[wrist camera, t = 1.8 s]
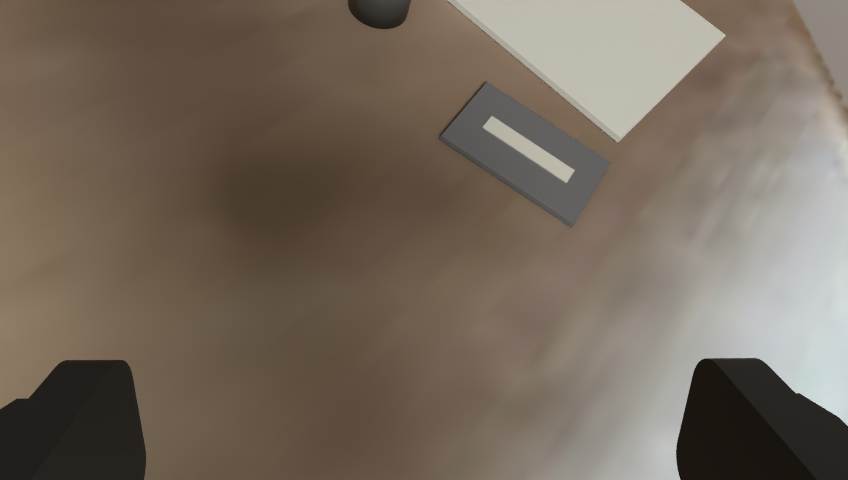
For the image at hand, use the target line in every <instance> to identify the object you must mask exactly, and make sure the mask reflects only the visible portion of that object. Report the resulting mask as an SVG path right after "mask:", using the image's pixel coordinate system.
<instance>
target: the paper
mask: <svg viewBox="0 0 848 480" xmlns="http://www.w3.org/2000/svg"><path fill="white" fill-rule="evenodd" d="M447 1H449V2H450V3H451V4H452V5H453V6H455V7H456V8H457V9H458V10H459V11H460V12H462V13H463V14H464V15H465V16H466V17H468V18H469V19H470V20H471V21H472V22H474V23H475V24H476V25H477V26H478V27H480V28H481V29H482V30H483V31H484V32H486V33H487V34H488V35H489V36H490V37H492V38H493V39H494V40H495V41H496V42H498V43H499V44H500V45H501V46H502V47H504V48H505V49H506V50H507V51H508V52H510V53H511V54H512V55H513V56H514V57H516V58H517V59H518V60H519V61H520V62H522V63H523V64H524V65H525V66H526V67H528V68H529V69H530V70H531V71H532V72H534V73H535V74H536V75H537V76H538V77H539V78H541V79H542V80H543V81H544V82H545V83H547V84H548V85H549V86H550V87H551V88H553V89H554V90H555V91H556V92H557V93H559V94H560V95H561V96H562V97H563V98H565V99H566V100H567V101H568V102H569V103H571V104H572V105H573V106H574V107H575V108H577V109H578V110H579V111H580V112H581V113H583V114H584V115H585V116H586V117H587V118H589V119H590V120H591V121H592V122H593V123H595V124H596V125H597V126H598V127H599V128H601V129H602V130H603V131H604V132H605V133H607V134H608V135H609V136H610V137H611V138H613V139H614V140H615V141H616V142H617V143H618V142H619V141H620V140H621V139H622V138H623V137H624V136H625V135H626V134H627V133H628V132H629V131H630V130H631V129H632V128H633V127H634V126H635V125H636V124H637V123H638V122H639V121H640V120H641V119H642V118H643V117H644V116H645V115H646V114H647V113H648V112H649V111H651V110H652V109H653V108H654V107H655V106H656V105H657V104H658V103H659V102H660V101H661V100H662V99H663V98H664V97H665V96H666V95H667V94H668V93H669V92H670V91H671V90H672V89H673V88H674V87H675V86H676V85H677V84H678V83H679V82H680V81H681V80H682V79H683V78H684V77H685V76H686V75H687V74H688V73H689V72H690V71H691V70H692V69H693V68H694V67H695V66H696V65H697V64H698V63H699V62H700V61H701V60H702V59H703V58H704V57H705V56H706V55H707V54H708V53H709V52H710V51H711V50H712V49H713V48H714V47H715V46H716V45H717V44H718V43H719V42H720V41H721V40H722V39H723V38H724V37H725V36H726V35H725V34H723V33H722V32H721V31H719V30H718V29H717V28H716V27H714V26H713V25H712V24H710V23H709V22H708V21H706V20H705V19H704V18H702V17H701V16H700V15H699V14H697V13H696V12H695V11H693V10H692V9H691V8H689V7H688V6H687V5H686V4H684V3H683V2H682V1H680V0H447Z"/></svg>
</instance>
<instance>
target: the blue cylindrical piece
mask: <svg viewBox="0 0 848 480" xmlns="http://www.w3.org/2000/svg"><path fill="white" fill-rule="evenodd" d="M410 2H411V0H348V6H349V9H350V11H351V13H352V14H353V15H354V16H355V17H356V18H357V19H358V20H359V21H360V22H362V23H364V24H366V25H368V26H370V27H374V28H379V29H390V28H394V27H397V26H399V25H401V24H402V23H403V22H404V21H405V19H406V17H407V13H408V10H409V6H410Z"/></svg>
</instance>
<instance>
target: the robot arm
mask: <svg viewBox="0 0 848 480" xmlns="http://www.w3.org/2000/svg"><path fill="white" fill-rule="evenodd" d="M676 458H677V467H678V472H679V476H680V479H681V480H848V426H847V425H846V424H845V423H844V422H843V421H842V420H841V419H840V418H839V417H837V416H836V415H834V414H832V413H831V412H829V411H827V410H826V409H824V408H822V407H821V406H819V405H818V404H816V403H814V402H813V401H811V400H809V399H808V398H806V397H804V396H803V395H801V394H799V393H797V394H796V393H795V392H794V391H793V390H792V389H791V388H790V387H789V386H788V385H787V384H786V383H785V382H784V381H783V380H782V379H781V378H780V377H779V376H778V375H777V374H776V373H775V372H774V371H773V370H772V369H771V368H770V367H769V366H768V365H767V364H766V363H764V362H763V361H762V360H760V359H756V358H713V359H703V360H701V361H700V362H699V363H698V364H697V365H696V368H695V370H694V373H693V377H692V381H691V386H690V390H689V394H688V399H687V403H686V407H685V412H684V416H683V420H682V425H681V429H680V433H679V437H678V442H677V450H676ZM145 468H146V451H145V444H144V438H143V433H142V427H141V421H140V416H139V410H138V404H137V399H136V393H135V388H134V382H133V376H132V372H131V369H130V367H129V365H128V364H127V363H126V362H125V361H124V360H66V361H63V362H61V363H59V364H58V365H57V366H56V367H55V368H54V370H53V371H52V372H51V373H50V374H49V375H48V377H47V378H46V379H45V380H44V381H43V382H42V384H41V385H40V386H39V387H38V388H37V389H36V391H35V392H34V393H33V394H32V395H31V396H30V397H29V399H16V400H14V401H13V402H11V403H9V404H8V405H6V406H5V407H3V408H2V409H0V480H144V476H145Z"/></svg>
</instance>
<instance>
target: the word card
mask: <svg viewBox="0 0 848 480" xmlns="http://www.w3.org/2000/svg"><path fill="white" fill-rule="evenodd" d="M440 140H441V141H443V142H444V143H446V144H447V145H449V146H450V147H452V148H453V149H455V150H456V151H458V152H459V153H461V154H462V155H464V156H465V157H467V158H468V159H470V160H471V161H473V162H474V163H476V164H477V165H479V166H480V167H482V168H483V169H485V170H486V171H488V172H489V173H491V174H492V175H494V176H495V177H497V178H498V179H500V180H501V181H503V182H504V183H506V184H507V185H509V186H510V187H512V188H513V189H515V190H516V191H518V192H519V193H521V194H522V195H524V196H525V197H527V198H528V199H530V200H531V201H533V202H534V203H536V204H537V205H539V206H540V207H542V208H543V209H545V210H546V211H548V212H549V213H551V214H552V215H554V216H555V217H557V218H558V219H560V220H561V221H563V222H564V223H566V224H567V225H569V226H570V227H572V226H573V225H574V224H575V222H576V220H577V219H578V217H579V215H580V214H581V212H582V210H583V209H584V207H585V205H586V203H587V202H588V200H589V198H590V197H591V195H592V193H593V192H594V190H595V188H596V187H597V185H598V183H599V181H600V180H601V178H602V176H603V175H604V173H605V171H606V170H607V168H608V166H609V164H610V163H611V162H609V161H608V160H606V159H605V158H603V157H602V156H600V155H599V154H597V153H595V152H594V151H592V150H591V149H589V148H588V147H586V146H585V145H583V144H582V143H580V142H579V141H577V140H576V139H574V138H572V137H571V136H569V135H568V134H566V133H565V132H563V131H562V130H560V129H559V128H557V127H556V126H554V125H553V124H551V123H550V122H548V121H546V120H545V119H543V118H542V117H540V116H539V115H537V114H536V113H534V112H533V111H531V110H530V109H528V108H527V107H525V106H523V105H522V104H520V103H519V102H517V101H516V100H514V99H513V98H511V97H510V96H508V95H507V94H505V93H504V92H502V91H501V90H499V89H497V88H496V87H494V86H493V85H491V84H490V83H488V82H486V83H485V85H484V86H483V87H482V88H481V89H480V90H479V92H478V93H477V94H476V95H475V96H474V97H473V99H472V100H471V101H470V102H469V103H468V105H467V106H466V107H465V108H464V109H463V110H462V112H461V113H460V114H459V115H458V116H457V117H456V119H455V120H454V121H453V122H452V123H451V124H450V126H449V127H448V128H447V129H446V130H445V131H444V133H443V134H442V135H441V137H440Z"/></svg>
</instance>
